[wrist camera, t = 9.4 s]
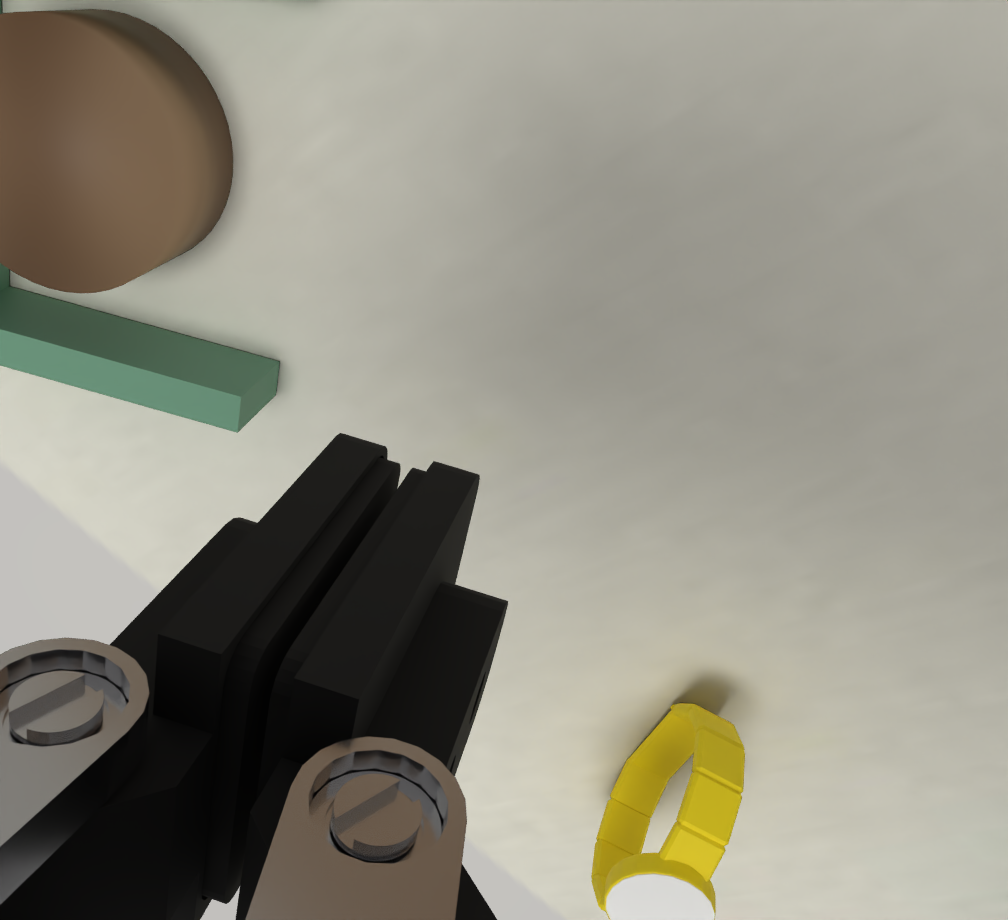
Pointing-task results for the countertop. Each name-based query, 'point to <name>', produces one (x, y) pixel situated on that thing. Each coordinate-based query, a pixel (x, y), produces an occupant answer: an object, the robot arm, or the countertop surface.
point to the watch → (693, 838)
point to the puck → (104, 149)
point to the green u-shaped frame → (132, 359)
